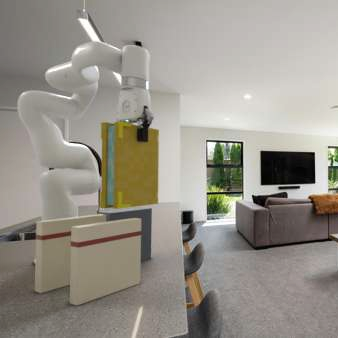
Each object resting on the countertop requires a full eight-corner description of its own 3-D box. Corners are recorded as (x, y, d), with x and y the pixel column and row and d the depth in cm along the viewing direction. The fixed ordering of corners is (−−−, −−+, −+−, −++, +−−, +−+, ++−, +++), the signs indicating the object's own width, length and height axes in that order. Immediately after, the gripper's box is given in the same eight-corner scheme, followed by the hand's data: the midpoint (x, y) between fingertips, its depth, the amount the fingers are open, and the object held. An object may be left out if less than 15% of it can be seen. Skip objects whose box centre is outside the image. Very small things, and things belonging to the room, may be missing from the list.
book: (118, 208, 82) (119, 121, 83) (99, 208, 83) (100, 122, 84) (163, 203, 99) (163, 130, 99) (146, 202, 100) (147, 131, 101)
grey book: (103, 269, 91) (104, 212, 91) (145, 257, 104) (146, 207, 104) (108, 270, 90) (110, 213, 90) (151, 258, 103) (151, 208, 103)
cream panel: (69, 303, 68) (70, 226, 68) (133, 281, 81) (134, 217, 82) (76, 305, 66) (78, 227, 67) (140, 283, 80) (141, 218, 80)
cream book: (34, 291, 74) (35, 221, 74) (99, 272, 88) (100, 213, 88) (40, 293, 73) (42, 222, 73) (105, 274, 87) (106, 214, 87)
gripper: (105, 86, 92) (104, 141, 91) (142, 79, 85) (141, 139, 85) (129, 92, 99) (127, 143, 98) (165, 87, 92) (164, 142, 92)
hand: (134, 141), depth 91 cm, fingers closed on book, 7 cm apart
